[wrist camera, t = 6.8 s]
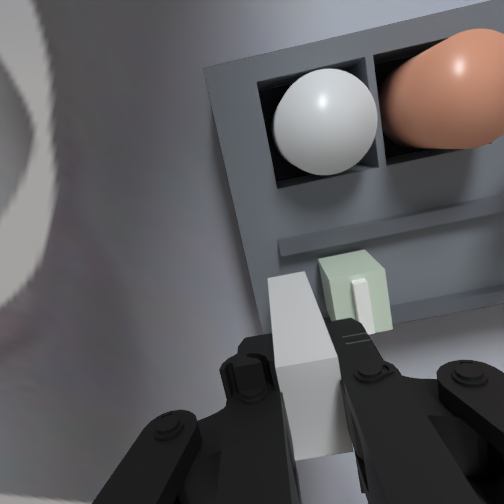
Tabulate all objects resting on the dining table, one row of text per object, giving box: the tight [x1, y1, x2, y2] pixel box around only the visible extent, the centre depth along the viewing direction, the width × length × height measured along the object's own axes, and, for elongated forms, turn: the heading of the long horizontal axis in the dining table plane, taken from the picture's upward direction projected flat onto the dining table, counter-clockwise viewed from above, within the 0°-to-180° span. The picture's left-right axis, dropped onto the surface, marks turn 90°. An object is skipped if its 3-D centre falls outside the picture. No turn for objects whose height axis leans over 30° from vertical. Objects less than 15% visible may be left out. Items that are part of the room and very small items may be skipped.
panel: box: [203, 0, 504, 335], centre depth 17 cm, size 12×18×4 cm, turn 102°
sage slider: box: [318, 250, 393, 335], centre depth 16 cm, size 2×2×3 cm
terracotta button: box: [378, 29, 504, 149], centre depth 15 cm, size 4×4×4 cm
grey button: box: [271, 69, 378, 175], centre depth 16 cm, size 4×4×4 cm
